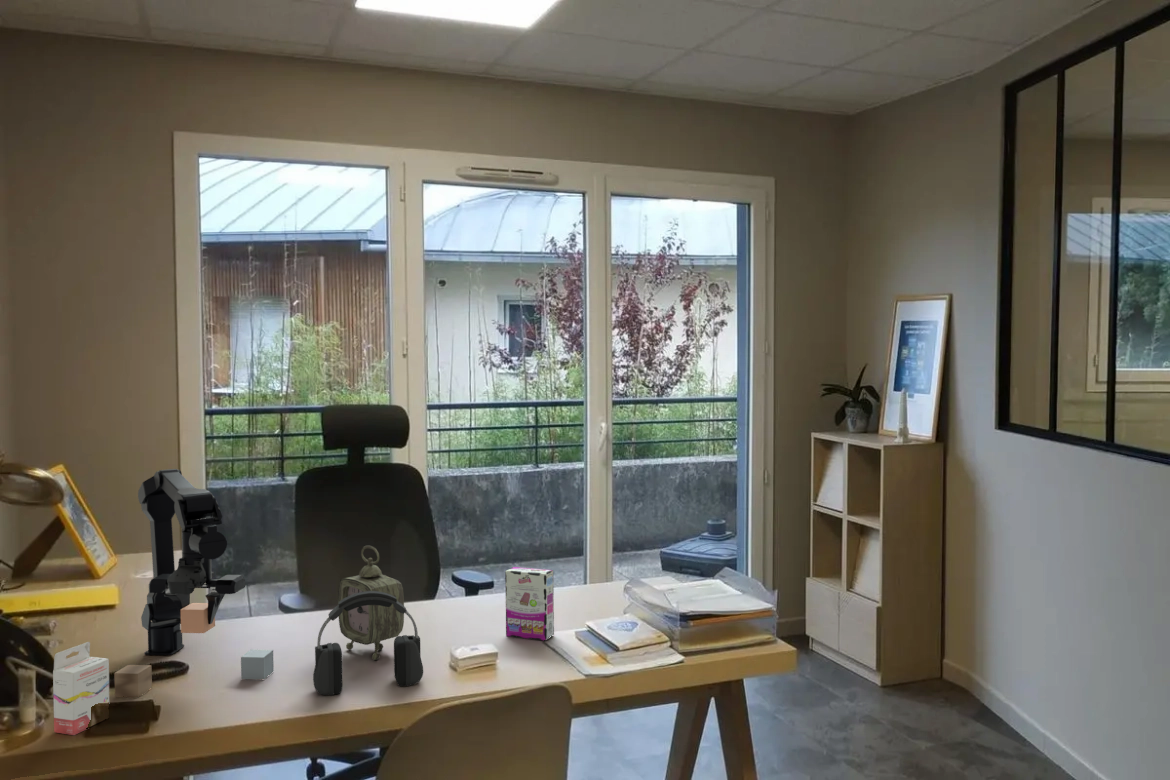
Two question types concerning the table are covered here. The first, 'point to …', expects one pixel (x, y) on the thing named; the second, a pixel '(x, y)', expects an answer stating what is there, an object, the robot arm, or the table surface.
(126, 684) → the walnut cube
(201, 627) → the terracotta cube
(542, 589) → the candy bar box
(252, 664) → the slate grey cube
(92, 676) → the ink cartridge box
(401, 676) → the headphones
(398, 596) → the tabletop clock
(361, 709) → the table surface
